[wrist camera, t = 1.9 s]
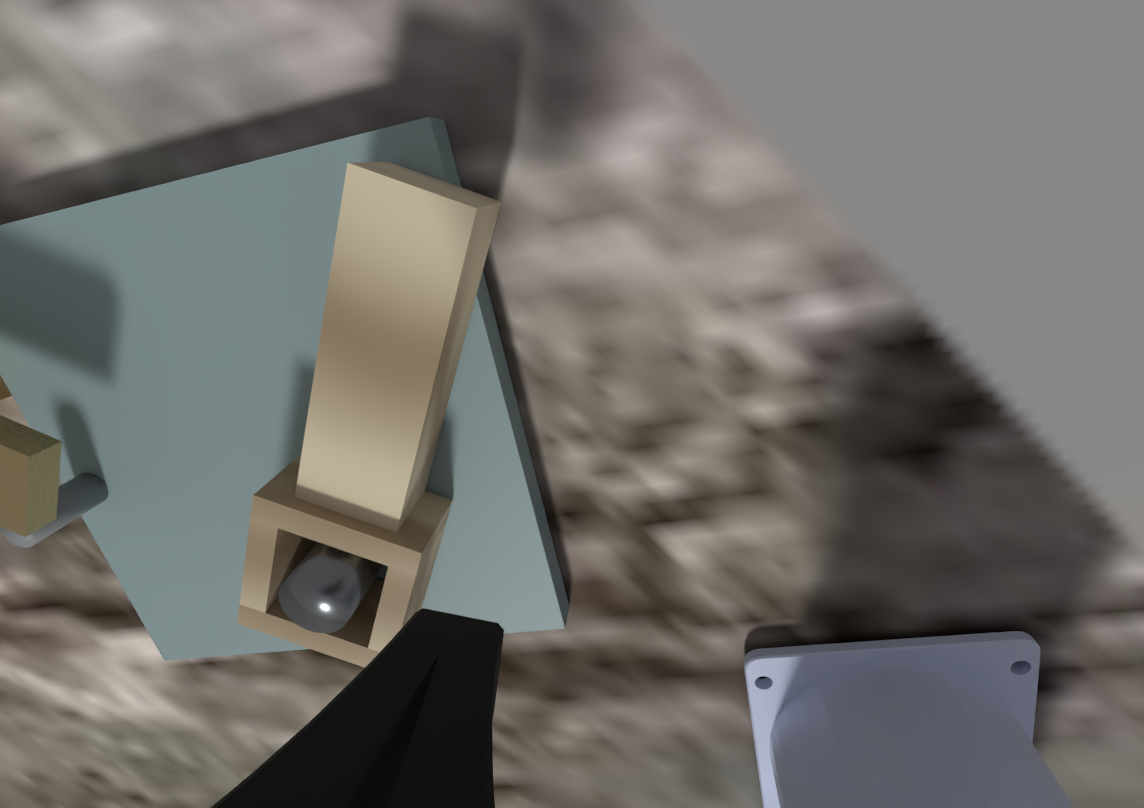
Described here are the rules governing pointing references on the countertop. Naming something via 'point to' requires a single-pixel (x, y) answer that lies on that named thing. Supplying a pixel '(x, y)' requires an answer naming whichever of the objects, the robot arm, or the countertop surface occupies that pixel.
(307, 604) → the cylinder
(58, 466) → the keeper
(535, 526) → the base board
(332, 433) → the link
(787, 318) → the countertop surface
